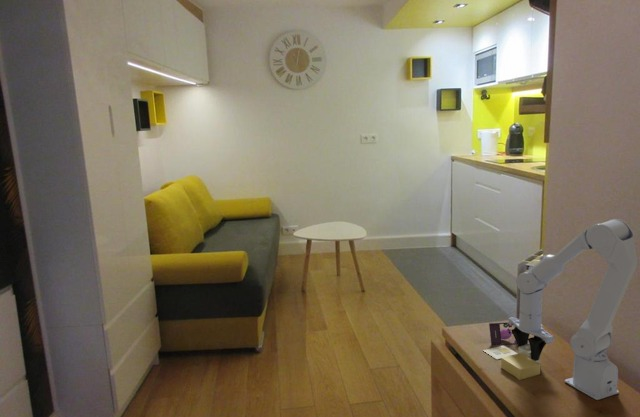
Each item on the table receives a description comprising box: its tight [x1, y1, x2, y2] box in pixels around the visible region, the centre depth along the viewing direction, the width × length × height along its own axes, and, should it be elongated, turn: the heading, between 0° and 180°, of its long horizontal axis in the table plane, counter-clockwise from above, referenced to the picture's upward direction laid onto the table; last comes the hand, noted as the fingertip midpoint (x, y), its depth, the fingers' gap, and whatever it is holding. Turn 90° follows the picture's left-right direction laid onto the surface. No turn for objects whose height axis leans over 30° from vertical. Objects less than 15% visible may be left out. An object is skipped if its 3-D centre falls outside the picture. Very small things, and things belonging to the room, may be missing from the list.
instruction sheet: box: [482, 345, 518, 361], centre depth 136 cm, size 6×8×1 cm
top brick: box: [517, 343, 541, 364], centre depth 130 cm, size 4×4×5 cm
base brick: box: [500, 352, 541, 381], centre depth 126 cm, size 7×7×3 cm
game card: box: [488, 321, 517, 346], centre depth 144 cm, size 7×5×9 cm
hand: (528, 356), depth 130 cm, fingers closed on top brick, 4 cm apart
